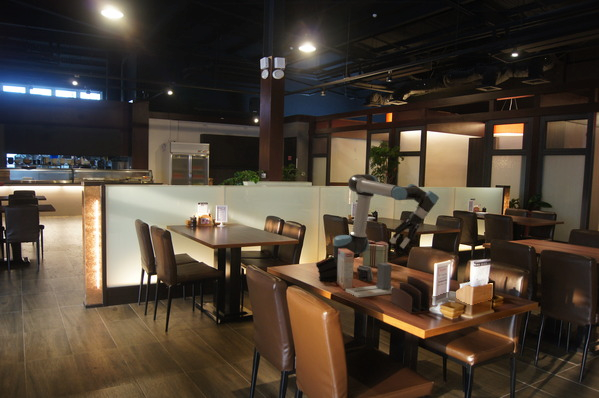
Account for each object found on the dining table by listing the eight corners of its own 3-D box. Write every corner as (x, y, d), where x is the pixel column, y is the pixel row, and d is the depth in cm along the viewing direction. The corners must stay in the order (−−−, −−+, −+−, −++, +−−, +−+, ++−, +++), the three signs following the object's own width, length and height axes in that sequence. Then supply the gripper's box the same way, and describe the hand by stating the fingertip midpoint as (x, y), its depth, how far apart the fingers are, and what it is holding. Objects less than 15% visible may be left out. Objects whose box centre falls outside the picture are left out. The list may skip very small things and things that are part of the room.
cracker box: (353, 289, 241) (354, 252, 240) (342, 290, 240) (344, 252, 239) (346, 283, 255) (347, 248, 253) (336, 283, 254) (337, 248, 252)
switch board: (386, 286, 249) (387, 284, 249) (400, 292, 238) (400, 289, 238) (345, 291, 237) (345, 288, 237) (357, 297, 226) (357, 294, 226)
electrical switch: (373, 281, 261) (373, 266, 260) (368, 283, 257) (368, 268, 256) (361, 278, 268) (360, 264, 267) (356, 280, 264) (355, 265, 263)
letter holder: (407, 300, 223) (409, 273, 222) (429, 313, 204) (431, 283, 203) (390, 302, 220) (391, 274, 219) (410, 314, 201) (412, 284, 200)
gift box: (388, 263, 316) (389, 239, 315) (384, 268, 299) (385, 243, 298) (365, 261, 322) (366, 238, 321) (359, 265, 305) (360, 241, 304)
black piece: (343, 278, 258) (333, 256, 257) (323, 288, 257) (313, 266, 255) (341, 277, 262) (332, 255, 260) (322, 286, 261) (312, 264, 259)
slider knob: (384, 285, 244) (385, 262, 244) (391, 288, 239) (392, 264, 238) (375, 286, 242) (376, 263, 241) (382, 289, 236) (383, 265, 236)
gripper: (414, 213, 239) (391, 243, 242) (431, 224, 257) (410, 252, 260) (404, 206, 244) (382, 236, 247) (422, 217, 262) (401, 245, 265)
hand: (396, 244), depth 254 cm, fingers open, 13 cm apart
